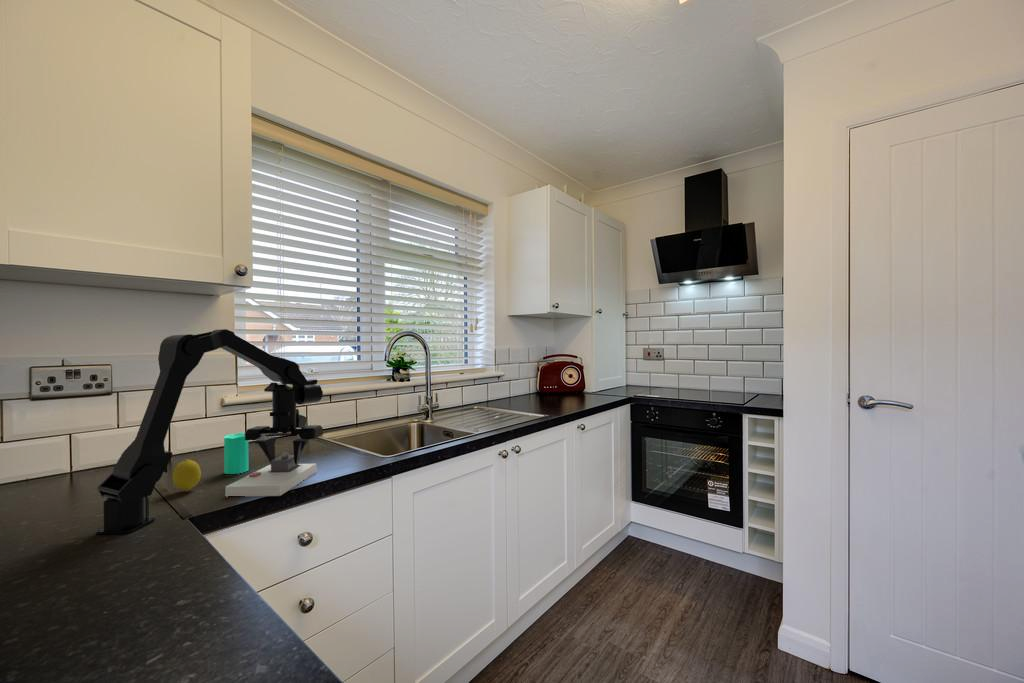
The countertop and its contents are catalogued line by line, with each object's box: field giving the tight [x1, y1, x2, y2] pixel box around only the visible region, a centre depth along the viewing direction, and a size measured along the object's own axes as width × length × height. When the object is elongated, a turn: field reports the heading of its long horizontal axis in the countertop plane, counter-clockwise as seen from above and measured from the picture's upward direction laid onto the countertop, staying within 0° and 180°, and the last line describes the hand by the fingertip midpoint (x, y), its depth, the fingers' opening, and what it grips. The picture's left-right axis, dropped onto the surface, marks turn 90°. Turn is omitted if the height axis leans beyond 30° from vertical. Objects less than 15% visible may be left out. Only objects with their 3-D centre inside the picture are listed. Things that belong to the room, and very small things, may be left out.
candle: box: [223, 430, 250, 474], centre depth 120 cm, size 6×6×12 cm
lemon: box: [172, 458, 202, 492], centre depth 104 cm, size 6×6×8 cm
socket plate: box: [224, 463, 318, 498], centre depth 110 cm, size 19×13×3 cm
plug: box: [270, 452, 299, 473], centre depth 115 cm, size 6×4×6 cm
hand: (284, 464), depth 115 cm, fingers open, 6 cm apart
